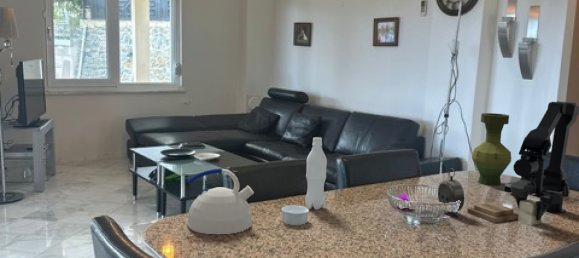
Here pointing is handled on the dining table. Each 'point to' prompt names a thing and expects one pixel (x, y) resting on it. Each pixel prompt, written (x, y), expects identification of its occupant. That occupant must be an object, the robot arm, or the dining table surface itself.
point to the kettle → (220, 208)
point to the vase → (492, 150)
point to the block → (528, 212)
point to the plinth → (493, 219)
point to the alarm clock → (451, 191)
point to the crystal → (404, 197)
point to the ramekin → (295, 215)
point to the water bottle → (316, 175)
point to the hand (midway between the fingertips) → (529, 217)
